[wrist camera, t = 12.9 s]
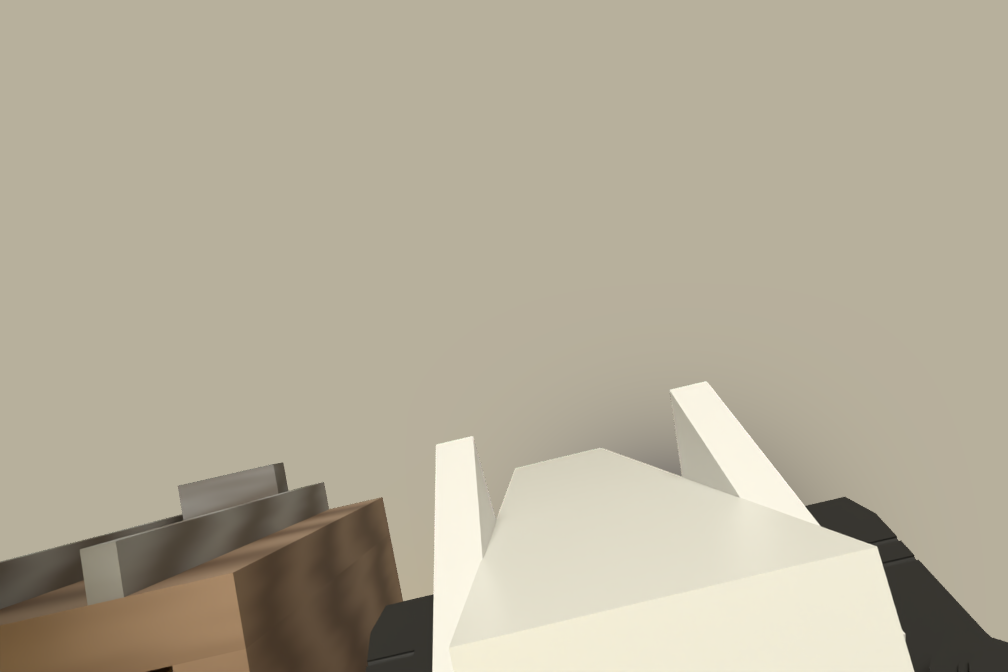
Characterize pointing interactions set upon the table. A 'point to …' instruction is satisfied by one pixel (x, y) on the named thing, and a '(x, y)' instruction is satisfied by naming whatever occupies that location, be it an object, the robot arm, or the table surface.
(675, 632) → the white long bar
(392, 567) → the lane rack
